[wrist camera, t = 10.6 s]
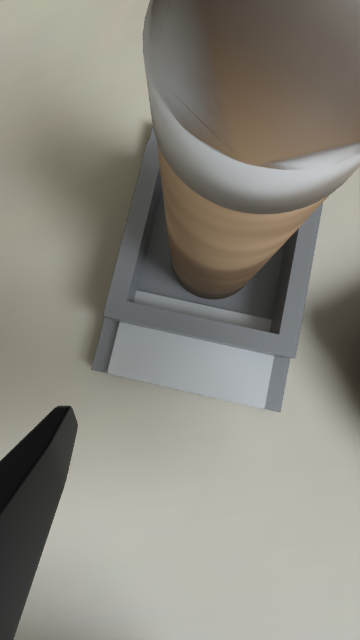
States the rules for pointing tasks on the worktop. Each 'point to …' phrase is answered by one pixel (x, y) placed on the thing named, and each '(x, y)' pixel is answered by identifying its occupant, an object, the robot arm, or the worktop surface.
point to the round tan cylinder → (249, 126)
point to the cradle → (201, 312)
